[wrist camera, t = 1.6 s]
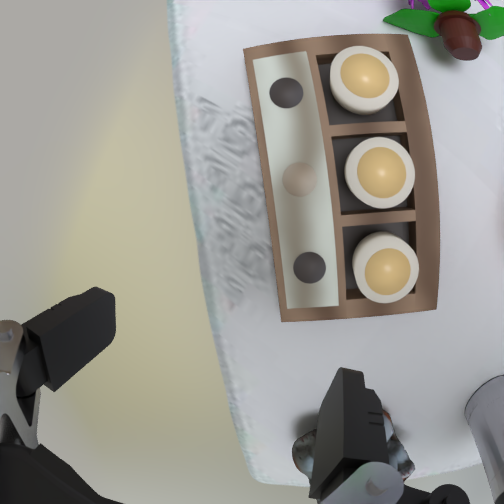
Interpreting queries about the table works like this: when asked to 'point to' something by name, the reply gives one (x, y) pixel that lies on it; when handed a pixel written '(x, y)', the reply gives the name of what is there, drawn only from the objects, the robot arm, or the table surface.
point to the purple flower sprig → (453, 24)
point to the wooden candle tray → (338, 176)
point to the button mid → (380, 172)
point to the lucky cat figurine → (397, 454)
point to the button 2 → (384, 267)
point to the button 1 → (363, 80)
